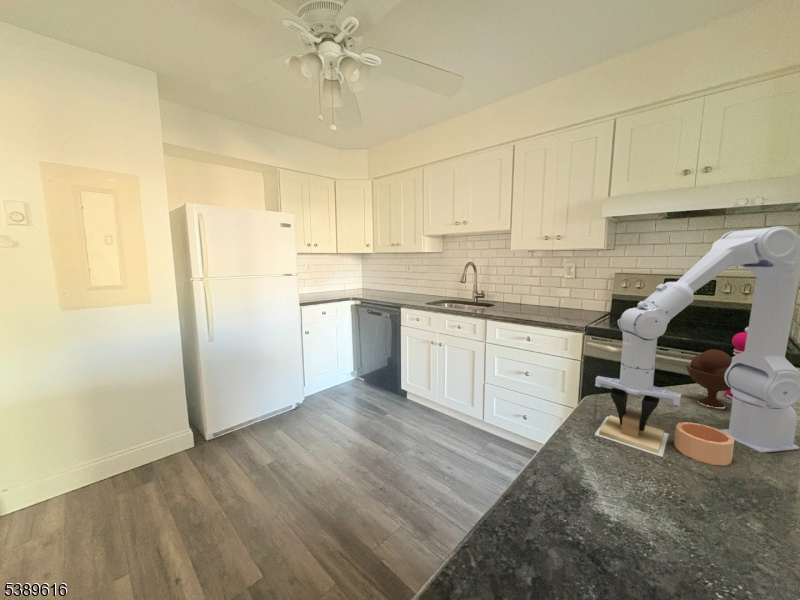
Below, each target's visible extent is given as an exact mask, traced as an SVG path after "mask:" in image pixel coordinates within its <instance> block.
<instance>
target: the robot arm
mask: <svg viewBox="0 0 800 600" xmlns="http://www.w3.org/2000/svg"><path fill="white" fill-rule="evenodd" d="M737 266H739V267H742V268H744V269H746V270H747V271H748V272H749V273H751V274H752V275H754V276H755V277H756V280H755V284H754V292H753V298H752V305H751V310H750V314H749V315H750V316H749V322H748V323H749V324H748V326H747V327H748V333H747V339H746V345H745V351H744V352H742V353H740V354H738V355H736V356H735V355H734V356H732V357H731V358H732V362H731V365H730V366H729V368H728V369H727V370H726V372H725V376H724V379H725V382H726V384H727V385H728V386H729V387H730V388H731V392H730V393H732V394H733V400H732V399H731V400H732V402H731V409H730V417H729V418H730V419H729V426H728V428H723V429H719V430H720V431H723V432H725V433H727V434H729V435H730V436H731V437H732V438H733V439H734V442H738V443H740V444H742V445H744V446H746V447H749V448H750V449H753V450H755V451H757V452H758V453H759V452H760V453H772V452H781V451H783V452H784V451H792V450H794V451H795V450H799V449H800V446H799V445H796V444H795V443H794V442H795V435H796V427H797V423H798V415H797V413H796V411H795V409H794V408H793V407H792V406H793V405H795V404H796V403H797V402H798V401H799V400H800V371H799V370H798V369H797V367H795V366H794V365H793V364H792V363H791V362H790V361H789V360H788V359H787V358H786V352H787V348H788V344H789V343H788V342H789V336H790V331H791V326H792V325H791V324H792V321H793V314H794V310H795V304H796V300H797V299H796V298H797V293H798V287H799V282H800V235H799V234H798V233H796V231H794V230H793V229H791V228H790V227H787V226H784V225H777V226H772V227H767V228H766V227H765V228H757V229H756V228H755V229H744V230H737V229H736V230H731V231H729V232H726V233H724V234H723V235H722V236H721V237H720V238H719V239H717V240H716V241H714V242H713V243H712V245H711V249H710V250H709V251H708V252H707V253H706V254H704V256H703V257H702V258H701V259H699V260H698V261H697V262H696V263H695V264H694V265H693V266H692V267H691V268H690V269H689V270H688V271H686V272H685V273H684V275H682V276H681V277H680V278H679V279H678V280H677V281H666V282H665V283H660V284H658V285H657V286H656V287H655V289H656V290H655V291H654V292H653V293H651V294H650V295H649V296H648V297H646V299H644V300H642V301H639V302H638V303H637V307H632V308H628V309H626V310H624V312H622V314H621V315H620V318H619V319H618V320H617V326H618V328H619V329H620V330H621V332H622V334H621V335H622V336H621V337H622V346H621V359H620V372H619V378H615V377H614V378H612V377H606V376H600V375H597V376H596V377H595V381H594V382H595V384H594V386H595V387H598V388H606V389H611V392H610V397H611V399H612V401H613V403H614V405H615V406H614V407H615V409H616V410H617V415H618V417H619V419H620V425H622V418H623V416H624V414H625V413H626V411H627V404H628V396H629V394H631V395H635V396H641V397H643V398H642V400H641V412H642V414H641V421H640V429H639V430H640V431H644V429H645V425H647V421H648V420H649V417H650V416H651V415H652V413H653V411H655V410H656V408H657V407H658V405H659V403H660V401H662V402H666V403H671V404H672V405H674V406H679V407H680V404H681V399H682V393H679V392H675V391H672V390H668V389H665V388H661V387H658V386H656V385H654V379H655V370H656V369H655V366H656V355H657V344H658V338H660V336H663V335H664V334H665V333H666V330H667V327H668V324H669V323H670V322H671V320H672V319H673V318H674V317H676V315H677V316H678V314H679V313H680V312H682V311H683V310H685V308H687V307H688V306H689V305H691V303H693V302H694V293H695V292H696V291H698V290H699V289H700V288H702V287H703V286H705V285H706V284H708V283H709V282H710V281H712V280H714V279H715V278H716V277H717V276H719V275H721V274H722V273H723V272H725V271H726V270H728V269H729V268H731V267H737Z"/></svg>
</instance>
